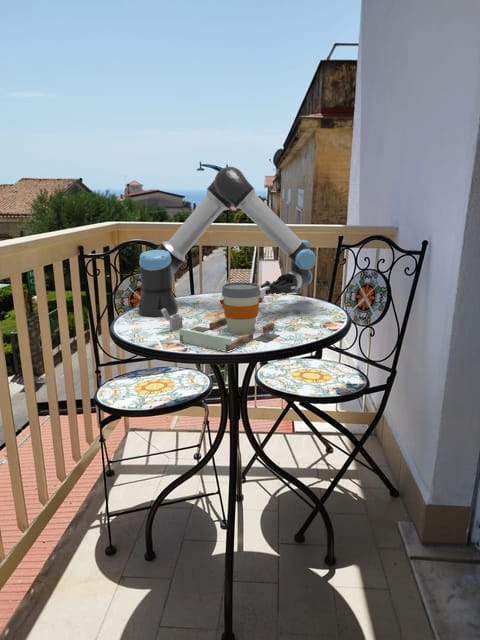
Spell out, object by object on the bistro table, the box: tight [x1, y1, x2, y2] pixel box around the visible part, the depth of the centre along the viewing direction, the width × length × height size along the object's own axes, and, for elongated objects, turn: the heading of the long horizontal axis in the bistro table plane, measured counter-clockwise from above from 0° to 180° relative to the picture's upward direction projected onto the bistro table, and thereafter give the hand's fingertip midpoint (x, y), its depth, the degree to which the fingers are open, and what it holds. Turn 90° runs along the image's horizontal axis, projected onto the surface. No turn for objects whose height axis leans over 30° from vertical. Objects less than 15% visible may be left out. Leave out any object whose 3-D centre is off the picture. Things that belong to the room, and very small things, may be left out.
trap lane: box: [179, 316, 280, 351], centre depth 137 cm, size 27×28×2 cm
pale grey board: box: [178, 328, 233, 352], centre depth 126 cm, size 1×18×4 cm, turn 57°
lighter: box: [161, 308, 184, 332], centre depth 141 cm, size 7×2×8 cm, turn 126°
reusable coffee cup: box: [221, 281, 261, 335], centre depth 141 cm, size 13×12×15 cm
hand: (259, 293), depth 149 cm, fingers closed
